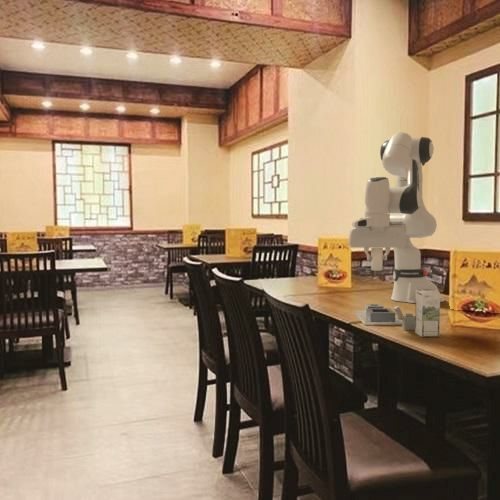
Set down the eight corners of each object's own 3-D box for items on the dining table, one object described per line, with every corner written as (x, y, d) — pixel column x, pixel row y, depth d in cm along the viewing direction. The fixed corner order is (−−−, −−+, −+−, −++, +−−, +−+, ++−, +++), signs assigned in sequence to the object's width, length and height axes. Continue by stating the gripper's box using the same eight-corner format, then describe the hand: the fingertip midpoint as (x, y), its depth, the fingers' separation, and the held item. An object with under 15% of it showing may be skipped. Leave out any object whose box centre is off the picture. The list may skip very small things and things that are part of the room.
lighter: (414, 328, 165) (414, 305, 165) (416, 329, 164) (416, 306, 163) (393, 329, 165) (393, 305, 164) (395, 330, 163) (395, 306, 163)
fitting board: (388, 312, 193) (388, 302, 193) (402, 324, 171) (402, 313, 171) (354, 312, 194) (354, 302, 194) (364, 325, 172) (364, 313, 172)
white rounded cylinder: (381, 269, 180) (381, 247, 180) (383, 270, 176) (383, 248, 176) (370, 269, 181) (370, 247, 180) (372, 270, 177) (372, 248, 176)
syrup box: (432, 332, 159) (432, 288, 158) (440, 337, 153) (440, 291, 152) (414, 333, 159) (415, 288, 158) (421, 337, 153) (422, 291, 152)
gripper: (404, 221, 180) (403, 259, 181) (348, 222, 181) (347, 259, 182) (408, 221, 174) (408, 260, 174) (350, 222, 175) (350, 260, 176)
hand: (376, 260), depth 178 cm, fingers closed on white rounded cylinder, 4 cm apart
